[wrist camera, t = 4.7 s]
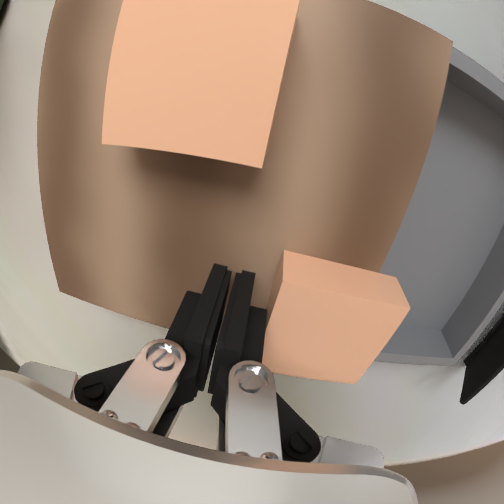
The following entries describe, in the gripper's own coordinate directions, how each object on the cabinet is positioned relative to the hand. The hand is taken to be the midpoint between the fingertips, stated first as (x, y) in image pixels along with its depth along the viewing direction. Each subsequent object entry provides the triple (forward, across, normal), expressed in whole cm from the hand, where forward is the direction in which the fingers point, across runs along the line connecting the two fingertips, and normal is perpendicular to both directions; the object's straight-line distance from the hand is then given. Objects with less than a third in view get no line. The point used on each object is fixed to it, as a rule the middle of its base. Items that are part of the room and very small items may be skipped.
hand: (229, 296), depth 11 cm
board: (+5, +2, -4) cm, 7 cm away
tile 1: (+1, -4, 0) cm, 4 cm away
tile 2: (+1, +2, -8) cm, 8 cm away
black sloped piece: (+5, -24, +2) cm, 24 cm away
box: (+5, -11, -4) cm, 12 cm away
